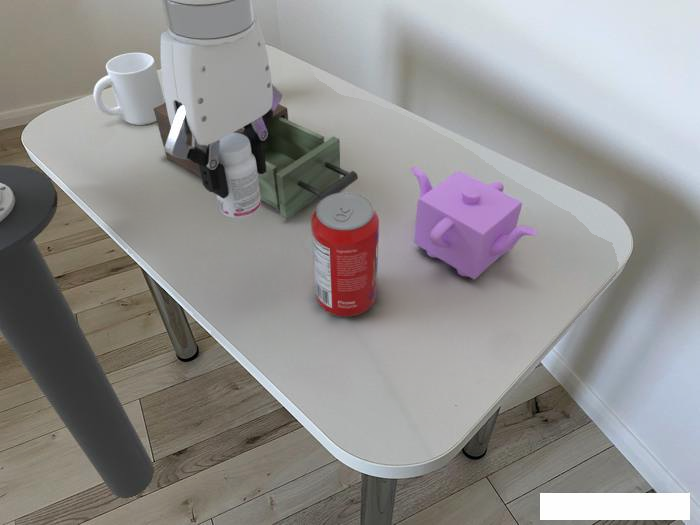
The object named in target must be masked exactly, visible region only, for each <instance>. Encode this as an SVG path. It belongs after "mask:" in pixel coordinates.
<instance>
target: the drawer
mask: <svg viewBox="0 0 700 525" xmlns="http://www.w3.org/2000/svg"><path fill="white" fill-rule="evenodd" d="M267 131H268V136H267V138H266V139H265V140H263V143H264V152H265V162H266V172H265V173H264V174H259V173H258V181H259V189H260V196H261V201H263V202H264V203H266V204H268V205H270V206H271V207H273V208H275V209H277V210H280V217H281V218H283V219H285V220H289V219H290V218H291V217H293V216H294V215H295V214H297V213H298V212H300V211H301V210H302V209H304V208H305V207H306V206H308V205H309V204H310V203H312V202H313V201H315V200H316V199H317V198H319V200H320V201H321V200H322V199H324V198H325V197H327V196H329V195H332V194H335V193H341V192H342V191H344V190H345V189H346V188H348V187H349V186H350V185H352V184H353V183H354V182H356V181H357V180H358V178H359V176H358V173H357V172H356V171H354V170H351V171H348V170H347V171H346V170H345V169H343V168H341V144H340V143H341V142H340V138H339V137H336V136H331V137H330V138H329V139H327V140H326V141H325V136H324V135H322V134H320V133H318V132H315V131H313V130H312V129H309V128H306V127H304V126H302V125H300V124H298V123H297V122H296V123H295V122H293V121H291V120H289V119H288V120H287V119H285V118H282V117H279V118H277V119H275V120H273V121H272V122H270V123H269V125H268V127H267ZM341 176H342V177H341Z"/></svg>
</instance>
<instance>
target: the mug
mask: <svg viewBox="0 0 700 525" xmlns="http://www.w3.org/2000/svg"><path fill="white" fill-rule="evenodd" d="M105 70H106V72H107V75H105V76H102V78H100V79H99V80H98V81H97V82H96V84H95V85H94V87H93V99H94V103H95V105H96V107H97V109H98V110H99V111H101V112H102V113H103V114H105V115H108V116H119V115H121V117H122V119H123V120H124V121H125V122H126V123H129V124H131V125H136V126H144V125H149V124H153V123H157V120H156V116H155V113H154V108H156V107H158V106H160V105H162V104H164V103H166V101H165V95H164V92H163V90H162V85H161V81H160V78H159V73H158V70H157V65H156V62H155V58H154V57H153V56H152V55H150V54H149V53H145V52H128V53H122V54H119V55H117V56H114V57H113V58H111V59H109V60H108V61H107V62H106V64H105ZM110 85H111V88H112V91H113V94H114V98H115V100H116V103H117V106H115V107H109V106H107V105H106V104H105V103H104V101H103V97H102V96H103V95H102V94H103V91H104V89H105V88H106V87H108V86H110Z"/></svg>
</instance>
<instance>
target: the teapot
mask: <svg viewBox="0 0 700 525" xmlns="http://www.w3.org/2000/svg"><path fill="white" fill-rule="evenodd" d="M410 171H411V172H412V174H413V175H414V176H415V177H416V179H417V181H418V185H419V193H420V194H419V196H420V197H419V198H418V199H417V205H416V216H415V219H416V220H415V225H414V226H415V228H414V238H413V243H414V244H415V245H416V246H418V247H420V248H421V249H423V250H425V251H426V254H427V256H429V257H431V258H437V259H439V260H441V261H443V262H444V263H446V264H448V265H449V266H450V267H452V268H454V269H456V272H457V274H458V275H460V276H461V277H469V278H470V279H472V280H476V278H478V277H479V276H480V275H481V274H482V273H483V272H485V271H486V270H487V269H488V268H489V267H490V266H492V264H493V263H495V262H496V261H497V260H498V259H500V257H501V256H503V255H504V254H507V253H508V252H510V251H511V250H512V249H513V248H514V247H515V245H516V244H517V243H518V241H520V240H521V238H522V237H525V236H538V235H539V232H538V231H537V230H536V229H535V228H533V227H531V226H528V225H519V226H517V225H518V221H519V218H520V214H521V210H522V206H523V202H522V201H520V200H519V199H516V198H514V197H513V196H511V195H510V194H507V193H505V192H504V188H505V187H504V184H503V183H502V182H500V181H494V182H491V183H489V184H487V183H485V182H483V181H481V180H479V179H477V178H475V177H473V176H471V175H469V174H467V173H465V172H463V171H461V170H457V171H456V172H455V173H453V174H452V175H450V176H449V177H447V178H445V179H444V180H443V181H441V182H440V183H439V184H437V185H436V186H434V187H433V186H432V184H431V182H430V181H431V180H430V179H429V177H428V176H427V174H426V173H425V172H424V171H423V170H422V169H420V168H418V167H413V166H412V167H410Z"/></svg>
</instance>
